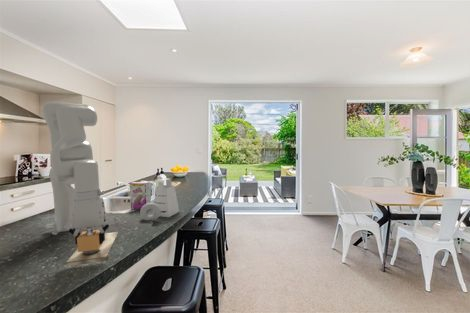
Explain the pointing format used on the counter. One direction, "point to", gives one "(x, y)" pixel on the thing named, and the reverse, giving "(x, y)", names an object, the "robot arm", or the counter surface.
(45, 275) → the counter surface
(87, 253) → the metal peg
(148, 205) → the donut
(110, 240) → the board
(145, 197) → the candy bar box
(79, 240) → the collar
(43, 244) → the counter surface
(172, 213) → the grater
